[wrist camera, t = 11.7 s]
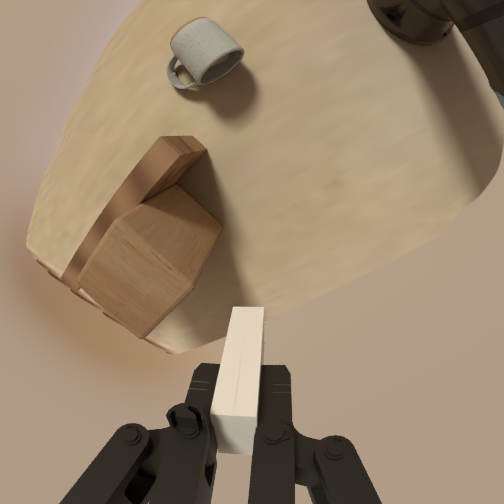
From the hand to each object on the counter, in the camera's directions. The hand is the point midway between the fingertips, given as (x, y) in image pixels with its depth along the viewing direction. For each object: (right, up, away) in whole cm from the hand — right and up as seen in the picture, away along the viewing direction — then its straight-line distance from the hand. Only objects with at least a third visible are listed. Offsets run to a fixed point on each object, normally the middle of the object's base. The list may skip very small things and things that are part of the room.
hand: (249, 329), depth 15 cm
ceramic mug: (-7, +31, +22) cm, 39 cm away
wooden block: (-11, +8, +32) cm, 35 cm away
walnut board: (-16, +12, +30) cm, 36 cm away
